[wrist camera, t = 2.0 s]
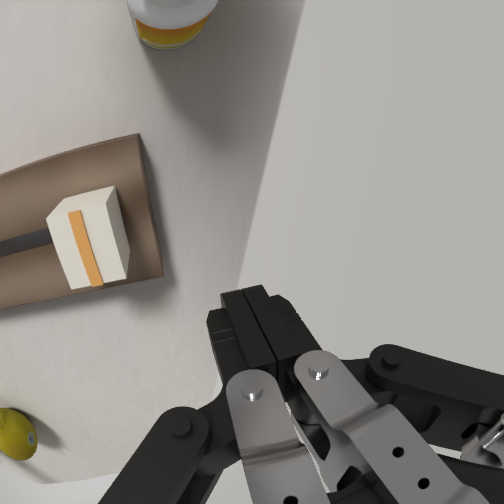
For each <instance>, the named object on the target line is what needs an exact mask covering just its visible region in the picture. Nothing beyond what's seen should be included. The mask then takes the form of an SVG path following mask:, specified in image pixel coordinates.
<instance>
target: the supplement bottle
mask: <svg viewBox="0 0 504 504" xmlns="http://www.w3.org/2000/svg"><path fill="white" fill-rule="evenodd" d="M218 1H219V0H127V5H128V9H129V12H130V16H131V19H132V23H133V26H134V29H135V32H136V34H137V36H138V37H139V39H140V40H141V41H143V42H144V43H145V44H147V45H149V46H151V47H153V48H157V49H174V48H178V47H181V46H183V45H186V44H187V43H189V42H190V41H192V40H193V39H194V38H195V37H196V36H197V35H198V34H199V33H200V31H201V30H202V28H203V26H204V25H205V23H206V21H207V19H208V18H209V16H210V14H211V13H212V11H213V10H214V8H215V6H216V5H217V3H218Z"/></svg>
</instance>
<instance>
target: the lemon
mask: <svg viewBox="0 0 504 504" xmlns="http://www.w3.org/2000/svg"><path fill="white" fill-rule="evenodd" d="M36 449H37V436H36V432H35V429H34V428H33V426H32V424H31V422H30V421H29V420H28V419H27V418H26V417H25V416H24V415H22V414H21V413H19V412H17V411H15V410H12V409H9V408H0V450H1V451H2V452H3V453H5V454H6V455H7V456H9V457H11V458H13V459H16V460H27V459H29V458H31V457H32V456H33V455H34V453H35V452H36Z"/></svg>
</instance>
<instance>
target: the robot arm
mask: <svg viewBox="0 0 504 504" xmlns="http://www.w3.org/2000/svg"><path fill="white" fill-rule="evenodd" d="M220 297H221V304H222V308H220V309H215V310H211V311H209V314H208V318H207V321H206V323H207V327H208V332H209V336H210V341H211V345H212V350H213V354H214V357H215V360H216V364H217V367H218V371H219V374H220V377H221V380H222V384H223V387H222V390H221V392H220V394H219V395H218V396H217V398H216V399H214V400H213V401H212V402H210V403H209V404H207V405H205V406H203V407H201V408H200V409H198V410H196V409H194V408H191V407H175V408H172V409H169V410H167V411H166V412H164V413H163V414H162V415H161V416H160V417H159V418H158V420H157V421H156V423H155V424H154V426H153V427H152V428H151V430H150V431H149V433H148V434H147V436H146V437H145V438H144V440H143V441H142V443H141V444H140V445H139V447H138V448H137V450H136V451H135V453H134V454H133V455H132V457H131V458H130V460H129V461H128V462H127V464H126V465H125V467H124V468H123V469H122V471H121V472H120V474H119V475H118V476H117V478H116V479H115V481H114V482H113V483H112V485H111V486H110V488H109V489H108V490H107V492H106V493H105V495H104V496H103V497H102V499H101V500H100V502H99V503H98V504H205V503H206V501H207V499H208V498H209V496H210V494H211V492H212V490H213V489H214V487H215V485H216V483H217V481H218V479H219V477H220V476H221V474H222V472H223V469H225V468H227V467H229V466H230V465H232V464H234V463H235V462H237V461H238V460H240V459H241V460H242V464H243V468H244V472H245V476H246V480H247V484H248V487H249V491H250V494H251V498H252V502H253V504H504V375H500V374H496V373H492V372H489V371H485V370H481V369H477V368H473V367H469V366H466V365H462V364H459V363H455V362H451V361H447V360H444V359H441V358H437V357H434V356H430V355H427V354H424V353H420V352H416V351H413V350H410V349H407V348H403V347H400V346H397V345H392V344H385V345H381V346H378V347H376V348H375V349H374V350H373V351H372V352H371V354H370V357H369V358H364V359H355V360H341V359H339V358H338V357H337V356H335V355H334V354H332V353H330V352H327V351H323V350H322V349H321V347H320V346H319V344H318V343H317V341H316V340H315V338H314V337H313V336H312V334H311V333H310V331H309V330H308V328H307V327H306V325H305V324H304V322H303V321H302V320H301V318H300V317H299V315H298V313H296V310H295V309H294V307H293V306H292V304H291V303H290V302H289V301H288V300H286V299H285V298H283V297H282V296H280V295H275V296H271V297H269V295H268V294H267V292H266V290H265V289H264V287H263V286H262V285H257V286H252V287H248V288H243V289H241V290H240V289H239V290H235V291H230V292H226V293H221V294H220ZM285 402H287V403H288V405H289V407H290V409H291V418H290V415H289V413H288V410H287V407H286V405H285ZM291 420H292V421H291ZM292 422H293V423H292ZM293 424H294V425H295V427H296V429H297V431H298V432H299V434H300V436H301V437H302V439H303V440H304V442H305V444H306V445H307V447H308V449H309V450H310V452H311V453H312V455H313V457H314V458H315V460H316V461H317V463H318V465H319V468H320V472H321V476H322V478H323V481H324V482H325V484H326V486H327V487H328V488H329V490H330V492H331V493H326V492H325V489H324V487H323V484H322V482H321V479H320V477H319V475H318V472H317V470H316V467H315V465H314V462H313V460H312V457H311V455H310V453H309V451H308V449H307V447H306V446H305V445H304V444H303V443H301V442H300V441H299V439H298V436H297V434H296V431H295V429H294V426H293ZM428 444H431V445H435V446H439V447H443V448H448V449H452V450H457V451H460V452H462V454H461V456H460V459H456V458H452V457H449V456H445V455H441V454H437V453H435V452H434V451H433V449H432V448H431V447H430V446H429V445H428Z"/></svg>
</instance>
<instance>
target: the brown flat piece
mask: <svg viewBox="0 0 504 504" xmlns="http://www.w3.org/2000/svg"><path fill="white" fill-rule="evenodd" d="M111 186H115V188H116V193H117V198H118V202H119V207H120V211H121V216H122V220H123V224H124V228H125V232H126V236H127V240H128V244H129V247H130V255H129V262H128V270H127V278H126V279H121V280H116V281H112V282H107V283H103V285H100V286H95V287H92V286H87V287H82V288H77V289H72V290H71V287H70V285H69V282H68V280H67V278H66V275H65V273H64V270H63V267H62V265H61V262H60V259H59V257H58V254H57V251H56V248H55V245H54V243H53V240H52V237H51V234H50V230H49V227H48V224H47V221H46V218H47V217H48V216H49V215H50V213H51V212H52V211H53V210H54V209H55V208H56V207H57V205H58V204H59V203H60V202H61V201H62V200H63V199H64V198H67V197H71V196H75V195H78V194H82V193H86V192H90V191H94V190H98V189H102V188H107V187H111ZM163 276H164V274H163V260H162V255H161V250H160V246H159V242H158V237H157V232H156V228H155V223H154V218H153V213H152V208H151V203H150V197H149V192H148V186H147V180H146V175H145V169H144V162H143V156H142V149H141V142H140V135H139V133H138V134H133V135H128V136H124V137H119V138H115V139H111V140H107V141H102V142H99V143H95V144H91V145H87V146H83V147H80V148H76V149H73V150H69V151H66V152H63V153H59V154H56V155H53V156H50V157H47V158H44V159H41V160H38V161H35V162H32V163H29V164H26V165H24V166H21V167H18V168H16V169H13V170H10V171H8V172H5V173H3V174H0V309H1V308H6V307H12V306H17V305H22V304H27V303H32V302H37V301H42V300H48V299H53V298H58V297H63V296H68V295H73V294H78V293H83V292H88V291H93V290H98V289H103V288H108V287H113V286H118V285H123V284H128V283H133V282H138V281H143V280H148V279H153V278H158V277H163Z"/></svg>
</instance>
